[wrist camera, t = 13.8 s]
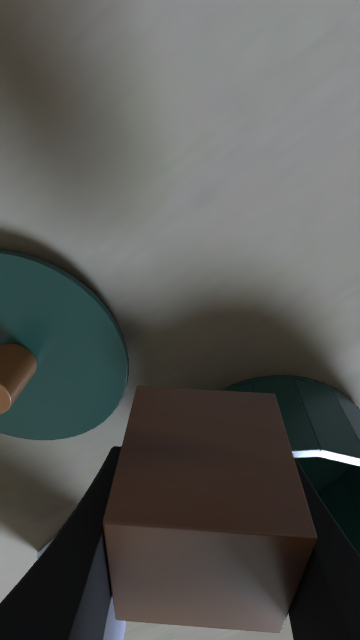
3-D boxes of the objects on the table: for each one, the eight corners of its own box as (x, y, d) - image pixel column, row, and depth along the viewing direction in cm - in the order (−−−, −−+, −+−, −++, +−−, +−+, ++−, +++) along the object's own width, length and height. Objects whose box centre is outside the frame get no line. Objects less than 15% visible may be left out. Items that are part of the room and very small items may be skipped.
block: (256, 483, 13) (280, 634, 9) (140, 475, 13) (114, 620, 9) (275, 393, 11) (318, 538, 7) (137, 385, 11) (101, 523, 7)
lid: (69, 455, 26) (46, 509, 22) (-110, 363, 23) (-174, 409, 19) (173, 336, 21) (167, 382, 17) (-44, 192, 17) (-114, 207, 13)
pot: (296, 532, 29) (317, 616, 24) (121, 436, 25) (100, 514, 20) (428, 455, 24) (490, 541, 19) (236, 316, 20) (250, 379, 15)
